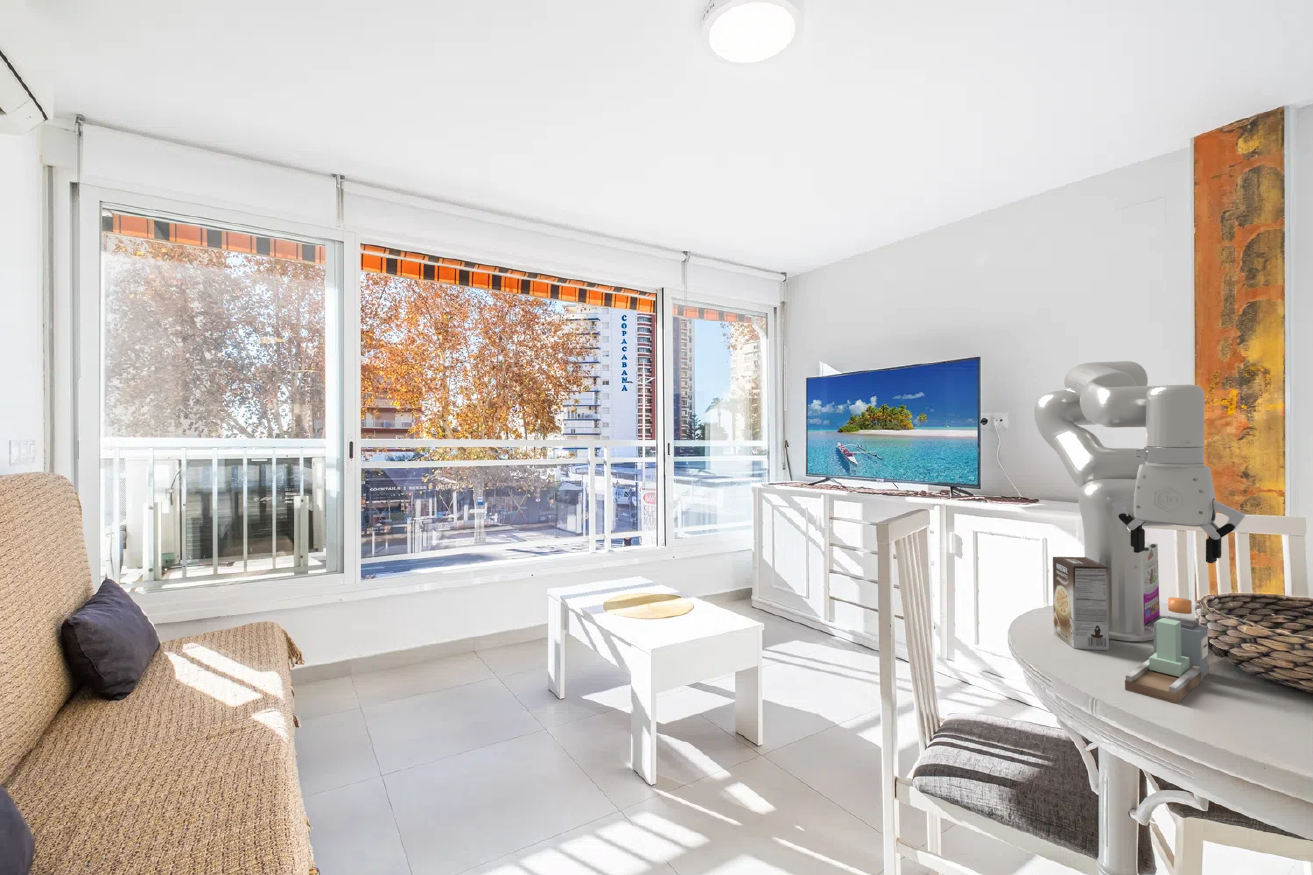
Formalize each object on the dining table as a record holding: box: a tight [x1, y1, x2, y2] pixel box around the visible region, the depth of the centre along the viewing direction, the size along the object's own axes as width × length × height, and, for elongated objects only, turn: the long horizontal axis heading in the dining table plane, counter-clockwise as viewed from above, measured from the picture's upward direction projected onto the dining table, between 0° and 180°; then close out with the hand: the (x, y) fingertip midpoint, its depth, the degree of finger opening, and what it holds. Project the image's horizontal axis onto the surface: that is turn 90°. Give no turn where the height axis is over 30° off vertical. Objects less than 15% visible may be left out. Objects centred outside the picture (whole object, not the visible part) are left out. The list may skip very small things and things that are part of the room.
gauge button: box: [1167, 596, 1193, 615], centre depth 102 cm, size 3×3×2 cm
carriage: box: [1148, 617, 1189, 677], centre depth 98 cm, size 5×4×8 cm
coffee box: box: [1052, 556, 1110, 651], centre depth 117 cm, size 9×6×16 cm
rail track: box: [1124, 658, 1202, 705], centre depth 96 cm, size 14×6×2 cm, turn 126°
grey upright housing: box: [1153, 616, 1209, 680], centre depth 102 cm, size 5×6×9 cm
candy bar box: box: [1142, 541, 1161, 626], centre depth 131 cm, size 11×5×16 cm, turn 126°
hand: (1173, 556), depth 102 cm, fingers open, 9 cm apart
